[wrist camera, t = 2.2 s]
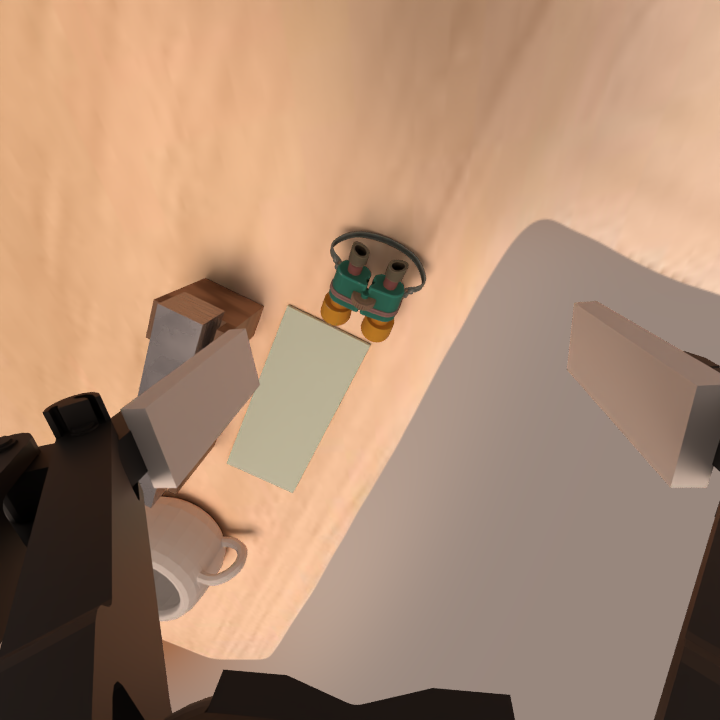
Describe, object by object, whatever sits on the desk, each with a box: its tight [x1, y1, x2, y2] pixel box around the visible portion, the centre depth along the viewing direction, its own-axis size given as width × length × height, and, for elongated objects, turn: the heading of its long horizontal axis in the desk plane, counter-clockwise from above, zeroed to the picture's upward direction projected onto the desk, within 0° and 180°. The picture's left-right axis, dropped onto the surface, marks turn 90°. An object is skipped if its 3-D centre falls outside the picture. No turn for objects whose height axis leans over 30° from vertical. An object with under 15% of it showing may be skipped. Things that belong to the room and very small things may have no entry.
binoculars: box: [321, 231, 426, 342], centre depth 34 cm, size 9×9×10 cm
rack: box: [146, 278, 264, 494], centre depth 42 cm, size 7×22×9 cm, turn 155°
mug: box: [145, 497, 247, 621], centre depth 54 cm, size 21×17×10 cm
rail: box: [138, 292, 225, 508], centre depth 38 cm, size 4×24×4 cm, turn 155°
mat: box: [227, 305, 371, 493], centre depth 46 cm, size 10×25×1 cm, turn 155°
